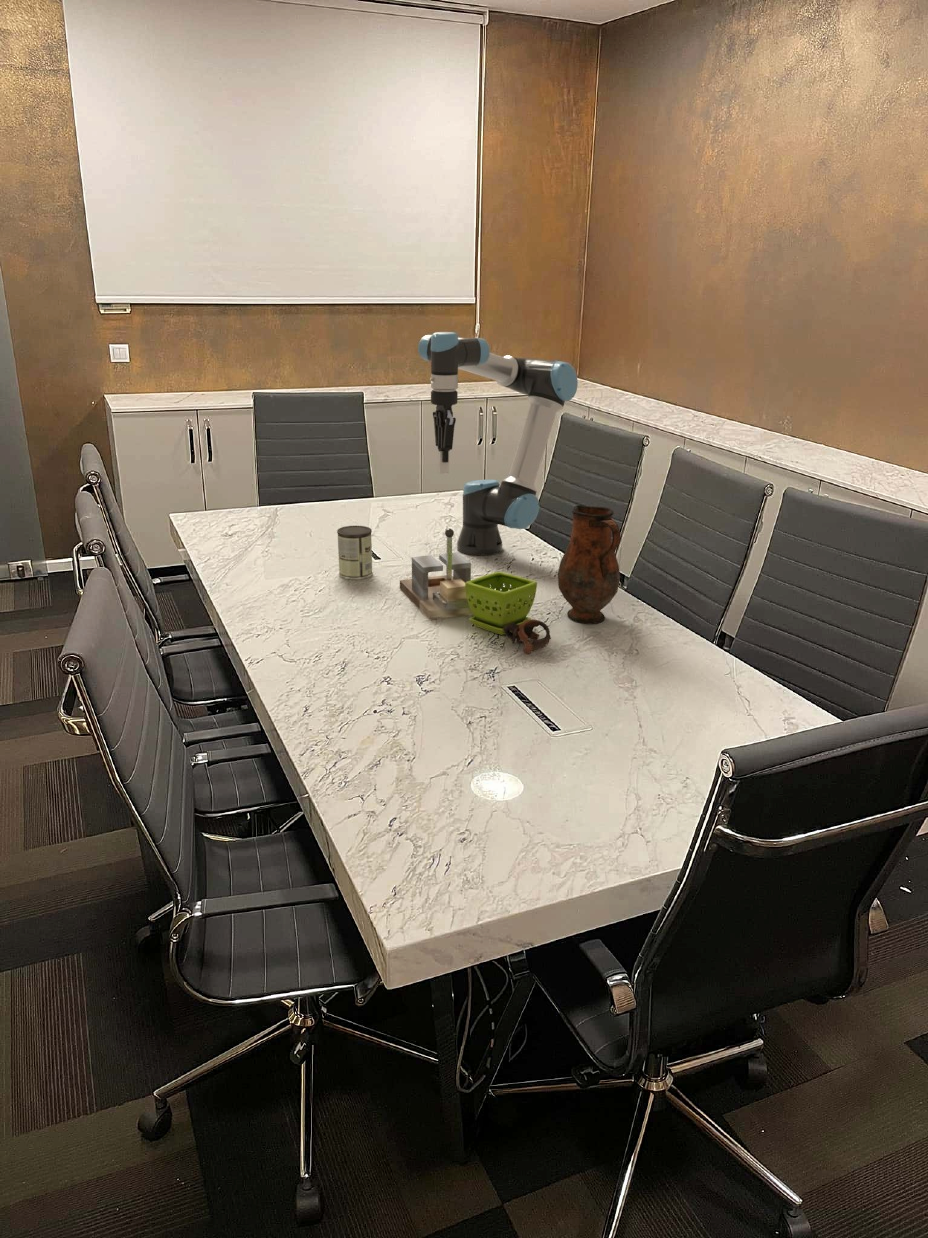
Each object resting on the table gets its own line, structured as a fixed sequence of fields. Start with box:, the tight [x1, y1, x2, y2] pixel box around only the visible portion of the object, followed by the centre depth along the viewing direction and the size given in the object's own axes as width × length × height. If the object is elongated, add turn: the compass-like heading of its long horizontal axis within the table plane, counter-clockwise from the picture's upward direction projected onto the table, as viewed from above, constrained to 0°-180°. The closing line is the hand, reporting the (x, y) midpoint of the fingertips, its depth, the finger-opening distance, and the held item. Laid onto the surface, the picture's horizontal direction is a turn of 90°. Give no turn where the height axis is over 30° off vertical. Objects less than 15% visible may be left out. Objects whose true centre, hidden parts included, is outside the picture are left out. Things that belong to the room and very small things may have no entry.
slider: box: [433, 528, 470, 611], centre depth 249 cm, size 9×10×20 cm
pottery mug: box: [503, 618, 552, 655], centre depth 230 cm, size 12×10×8 cm
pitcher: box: [557, 504, 621, 625], centre depth 245 cm, size 17×21×30 cm
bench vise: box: [399, 552, 474, 621], centre depth 260 cm, size 16×27×12 cm, turn 21°
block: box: [440, 579, 467, 602], centre depth 251 cm, size 6×6×6 cm
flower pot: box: [465, 571, 538, 636], centre depth 242 cm, size 14×14×13 cm
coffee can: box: [336, 525, 373, 581], centre depth 280 cm, size 10×10×14 cm
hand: (443, 472), depth 269 cm, fingers closed
